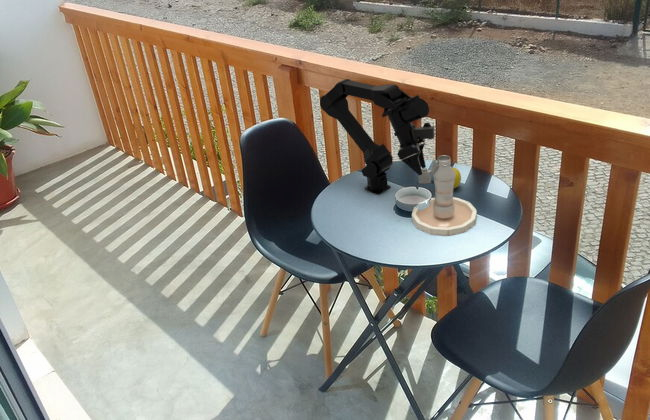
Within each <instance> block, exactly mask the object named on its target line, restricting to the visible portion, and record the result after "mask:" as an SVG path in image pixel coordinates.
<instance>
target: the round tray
mask: <svg viewBox="0 0 650 420" xmlns="http://www.w3.org/2000/svg"><path fill="white" fill-rule="evenodd" d="M434 199H435V197H431V200H430V206H428V207H427V208H425V209H423V210H420V211H418V207H417V208H416V207H413V209H412V213H411V221H412V223H413V224H414V225H415V227H416V228H417V229H418V230H420V231H422V232H425V233H427V234H429V235H433V236H437V235H438V236H446V237H447V236H454V235H459V234H462V233H465V232H467V231H468V230H470V229H471V228H472V227H474V226H475V225H476V220H477V212H478V211H477V209H476V208H475V207H474V205H473V204H472V203H471V202H470V201H468V200H464V199H462V198H459V197H455V196H453V201H454V206H455V212H454V215H453V216H452V217H451V218H449V219H439V218H437V217H436V216H435V215H434V212H433V205H434Z"/></svg>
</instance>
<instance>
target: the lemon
mask: <svg viewBox="0 0 650 420" xmlns="http://www.w3.org/2000/svg"><path fill="white" fill-rule="evenodd" d="M451 167H452V168H453V169H454V171H455V181H454V187H453V190H454V189H456V188H458V187H459V186H460V184H461V181H462V175H461V172H460V170H459V169H458V168H457V167H453V166H451Z"/></svg>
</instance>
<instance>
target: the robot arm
mask: <svg viewBox="0 0 650 420" xmlns="http://www.w3.org/2000/svg"><path fill="white" fill-rule="evenodd" d="M348 96H349V97H350V96H351V97H355V98H359V99H362V100H363V99H364V100H367V101H371V102H372V103H373V104H374V105H375V106H378V107H379V108H382V109H383V113H382V114H381V117H382V118H385V117H387V119H388V120H389V122H390V124H391V127H392V129H393V131H394V133H393V135H394V137H396V138H397V140H398V142H399V150H398V151H397V156H398V159H399V160H401V162H403V163H405V165H406V166H408V167H409V168H411V170H412V171H414V172H415V174H417V175H422V168H427V166H426V161H425V155H424V148H425V145H426V139H427V140H434V139H435V137H436V135H435V132H436V131H435V126H434V125H432V124H431V123H430V122H424V123H423V126H418V127H416V125H415V124H414V123H412V122H416V121H419V120H421V119H425V118H426V117H427V116H429V112H430V107H429V103H428V102H426V100H425V99H424V98H420V96H419V95H418V94H417V95H414V96H413V97H412V96H410V95H408V94H407V93H406V92H405V91H403V90H402V89H400V86H398V85H397V84H393V83H391V84H383V85H373V84H369V83H366V82H365V83H364V82H359V81H355V80H351V79H350V78H345V79H343V80H341V81H338V82H337V83H336V84H335V85H334V87H333V88H331V89H330V90H329V91H328V92H327V93H325V94H324V95H322V96H321V97H320V99H319V106H320V108H321V109H322V110H323V112H324V113H326V115H328V116H329V117H331V118H332V119H333V118H334V119H335V120H337V121H338V122H339V124H340V125H341V126H342V128H343V129H344V130H345V132H347V134H348V135H349V136H350V138H351V139H352V140H353V142H354V143H355V144H356V145H357V146H358V148H359V150H360V151H361V152H362V153H363V161H364V163H365V166H364V167H363V168H362V169H361V173H362V176H363V177H366V182H367V186H365V187H364V190H366V191H367V192H370V193H372V194H375V195H377V196H378V195H380V194H382V193H384V192H385V191H387V190H388V189H391V185H389V184H388V178H387V177H388V176H387V171H389V170H390V169H391V166H393V159H394V158H393V156H392V154H391V153H392V152H391V150H388V148H387V147H386V145H385V144H384V143H382V144H376V142H375V141H374V140H373V139H372V137H370V135H369V133H367V131H366V130H365V129H364V127H363V125H361V124H360V122H359V121H358V119H356V117H355V116H354V115H353V114H352V112H351V111H350V107H349V101H348V100H347V98H348Z"/></svg>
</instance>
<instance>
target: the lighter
mask: <svg viewBox="0 0 650 420" xmlns="http://www.w3.org/2000/svg"><path fill="white" fill-rule="evenodd" d="M437 162H438V159H435V161H434V162H433V164H432V166H431V168H430V169H428V167H425V168H422V167H421V169H422V175H418V174H417V175H418V177H417V178H418V184H422V185H423V184H432V178H431V175H432V174H433V172H434V170H435V168H436V167H437V166H438V164H437Z"/></svg>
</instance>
